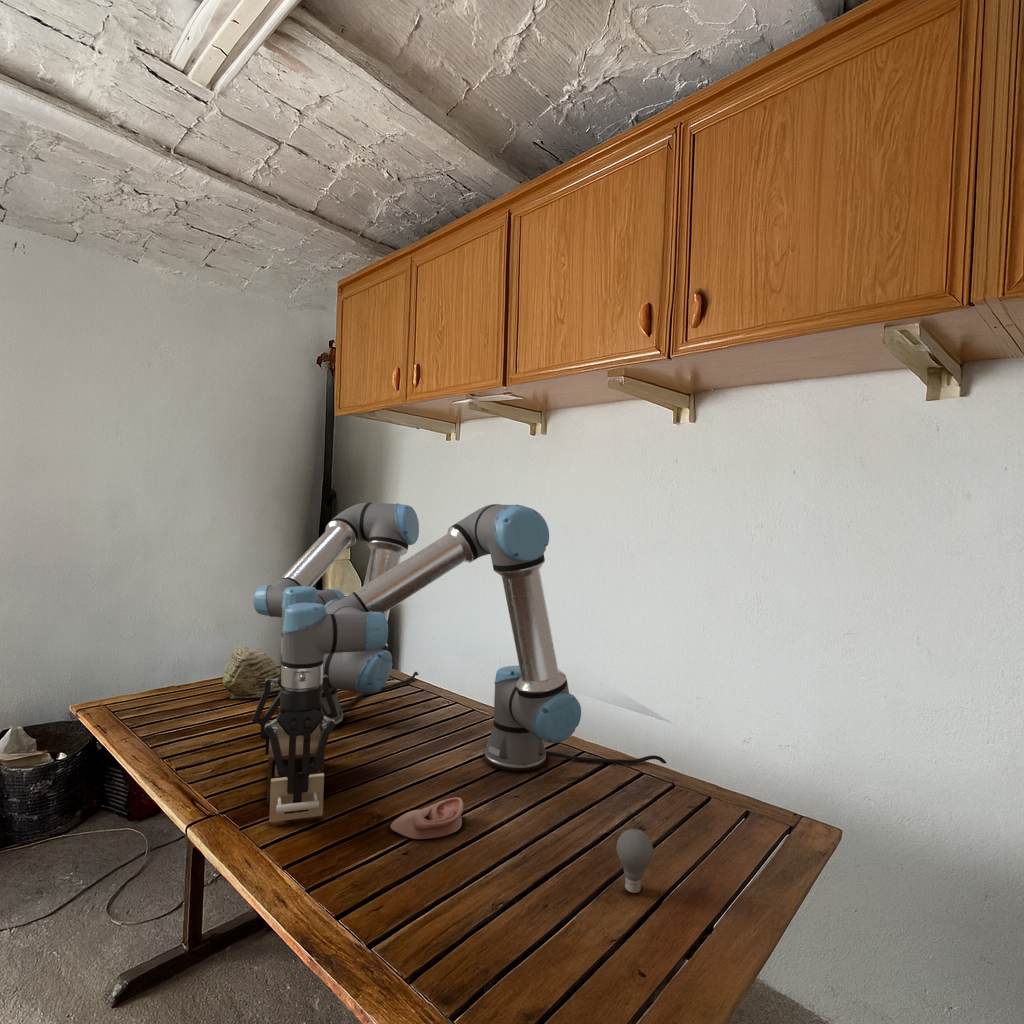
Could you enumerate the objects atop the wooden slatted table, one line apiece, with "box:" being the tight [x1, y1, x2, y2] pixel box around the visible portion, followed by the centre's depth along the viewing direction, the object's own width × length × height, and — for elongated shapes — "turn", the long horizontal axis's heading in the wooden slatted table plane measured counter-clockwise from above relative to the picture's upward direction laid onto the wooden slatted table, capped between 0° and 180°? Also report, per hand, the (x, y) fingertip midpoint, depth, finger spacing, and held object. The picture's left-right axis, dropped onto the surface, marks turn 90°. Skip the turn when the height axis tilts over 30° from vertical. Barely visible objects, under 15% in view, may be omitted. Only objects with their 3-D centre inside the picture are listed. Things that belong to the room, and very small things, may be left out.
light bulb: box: [615, 828, 654, 894], centre depth 106 cm, size 6×6×10 cm
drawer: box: [269, 757, 325, 823], centre depth 128 cm, size 22×10×8 cm, turn 20°
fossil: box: [222, 646, 281, 699], centre depth 198 cm, size 9×18×15 cm, turn 132°
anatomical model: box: [390, 797, 464, 840], centre depth 124 cm, size 13×4×12 cm
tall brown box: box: [266, 724, 325, 805], centre depth 140 cm, size 18×11×10 cm, turn 20°
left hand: (294, 750), depth 145 cm, fingers closed on tall brown box, 11 cm apart
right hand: (296, 808), depth 120 cm, fingers closed
